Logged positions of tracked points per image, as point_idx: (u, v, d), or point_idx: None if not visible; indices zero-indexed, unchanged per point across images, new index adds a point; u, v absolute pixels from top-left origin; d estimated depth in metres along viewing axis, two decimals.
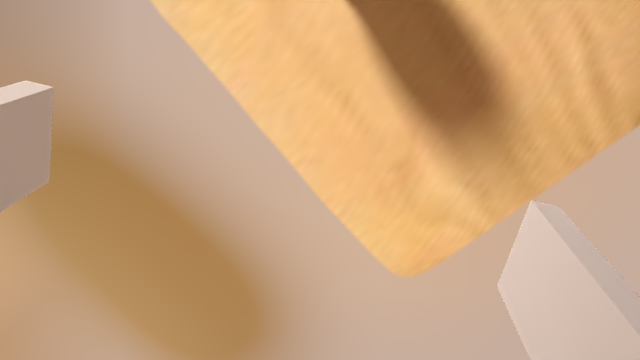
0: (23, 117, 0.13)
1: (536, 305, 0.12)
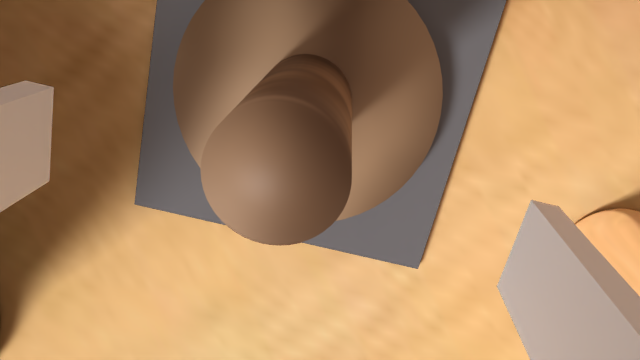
0: (24, 117, 0.13)
1: (537, 305, 0.12)
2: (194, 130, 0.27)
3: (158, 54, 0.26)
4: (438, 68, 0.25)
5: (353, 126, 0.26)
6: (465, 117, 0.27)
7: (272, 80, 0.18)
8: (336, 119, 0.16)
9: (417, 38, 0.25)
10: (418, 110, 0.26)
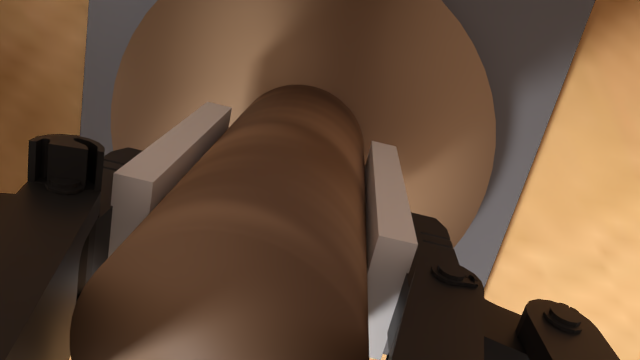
0: (218, 135, 0.15)
1: None
2: None
3: (93, 82, 0.19)
4: (490, 106, 0.17)
5: None
6: (525, 172, 0.19)
7: (231, 148, 0.11)
8: (339, 241, 0.08)
9: (461, 63, 0.17)
10: (459, 164, 0.18)
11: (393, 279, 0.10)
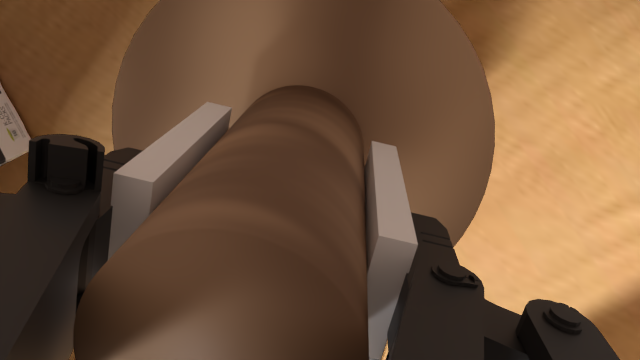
0: (218, 135, 0.15)
1: None
2: None
3: None
4: (489, 106, 0.17)
5: None
6: None
7: (232, 148, 0.11)
8: (339, 240, 0.09)
9: (460, 63, 0.17)
10: (459, 165, 0.18)
11: (393, 279, 0.10)
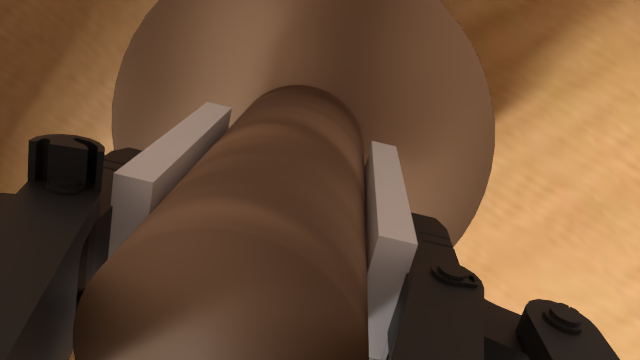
0: (218, 135, 0.15)
1: None
2: None
3: None
4: (489, 106, 0.17)
5: None
6: None
7: (232, 147, 0.11)
8: (339, 239, 0.09)
9: (460, 63, 0.17)
10: (459, 164, 0.18)
11: (393, 279, 0.10)
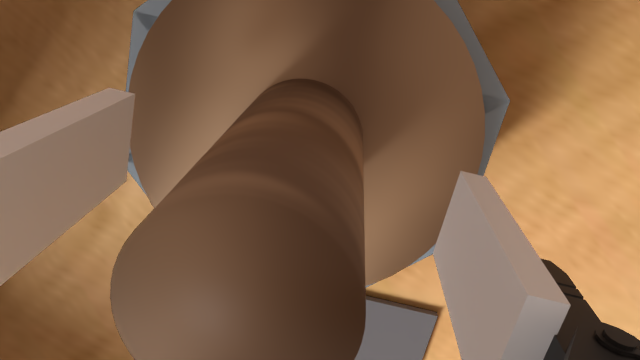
0: (113, 122, 0.14)
1: (456, 264, 0.13)
2: (156, 176, 0.20)
3: None
4: (480, 98, 0.18)
5: (364, 173, 0.20)
6: None
7: (243, 132, 0.12)
8: (340, 208, 0.10)
9: (452, 58, 0.18)
10: (451, 153, 0.19)
11: (539, 341, 0.09)
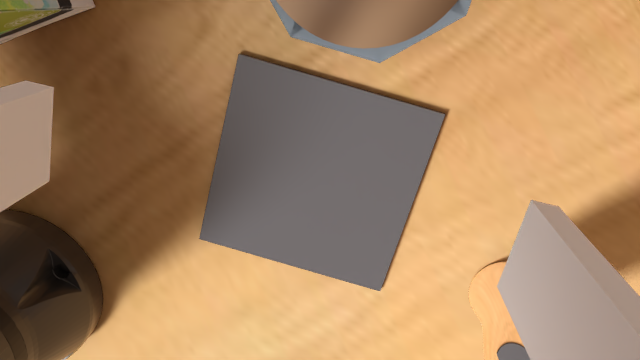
0: (23, 117, 0.13)
1: (537, 305, 0.12)
2: None
3: (222, 150, 0.42)
4: None
5: None
6: (412, 199, 0.42)
7: None
8: None
9: None
10: None
11: None
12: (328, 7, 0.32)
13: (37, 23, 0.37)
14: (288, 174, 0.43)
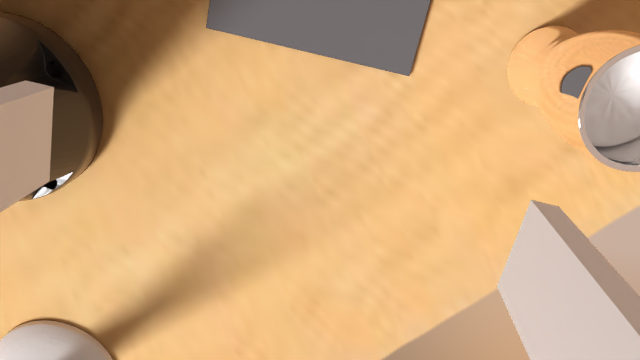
0: (24, 117, 0.13)
1: (537, 305, 0.12)
2: None
3: None
4: None
5: None
6: None
7: None
8: None
9: None
10: None
11: None
12: None
13: None
14: None
